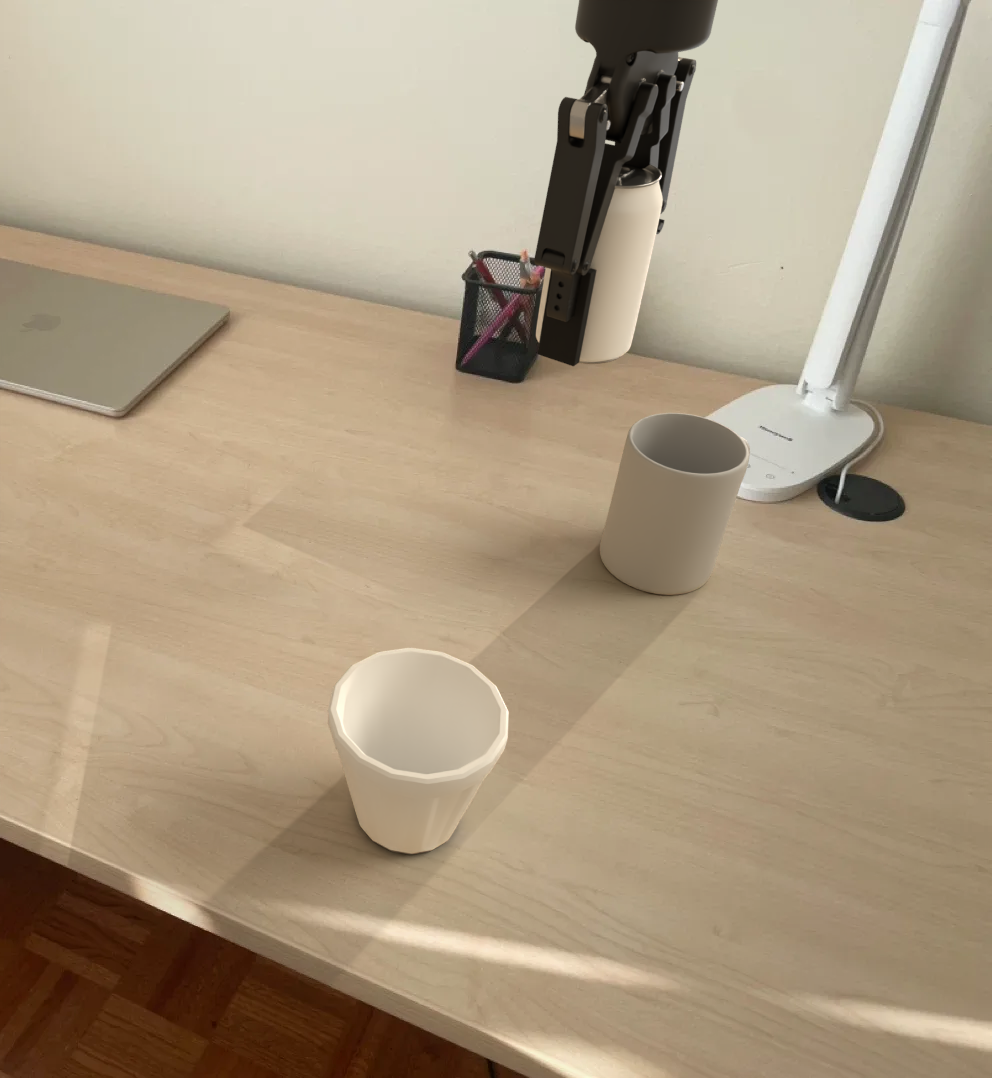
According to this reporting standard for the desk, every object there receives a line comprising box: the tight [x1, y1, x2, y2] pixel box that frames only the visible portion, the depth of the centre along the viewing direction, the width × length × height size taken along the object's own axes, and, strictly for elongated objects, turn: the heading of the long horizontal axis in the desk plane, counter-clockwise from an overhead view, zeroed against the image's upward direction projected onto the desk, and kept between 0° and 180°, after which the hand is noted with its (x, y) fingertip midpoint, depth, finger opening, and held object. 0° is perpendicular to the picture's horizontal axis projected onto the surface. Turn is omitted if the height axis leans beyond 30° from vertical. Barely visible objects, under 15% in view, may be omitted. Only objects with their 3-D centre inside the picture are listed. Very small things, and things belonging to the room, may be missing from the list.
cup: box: [327, 647, 510, 856], centre depth 61 cm, size 10×10×9 cm
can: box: [535, 164, 663, 365], centre depth 70 cm, size 6×6×12 cm
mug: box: [599, 412, 751, 596], centre depth 80 cm, size 12×8×11 cm
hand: (583, 338), depth 73 cm, fingers closed on can, 6 cm apart
